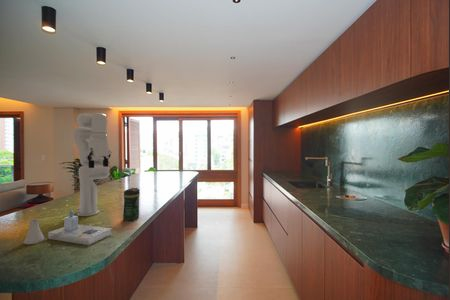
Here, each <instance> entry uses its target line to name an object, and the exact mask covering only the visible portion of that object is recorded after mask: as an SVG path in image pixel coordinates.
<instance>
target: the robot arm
mask: <svg viewBox="0 0 450 300" xmlns="http://www.w3.org/2000/svg"><path fill="white" fill-rule="evenodd" d="M76 123H77V126H78V127H76V128H74V129H73V133H72V135H73V140H74V143H75V145H76V146H77V149H78V156H79V158H78V159H79V162H80V164H81V166H80V167H79V168H78V178H79V205H78V207H76V208H75V209H76V210H77V211H78V212H77V213H76V216H78V217H89V216H91V217H92V216H95V215H97V214H99V213H100V210H99V209H98V185H97V183H95V182H94V180H103V179H107V178H108V177H109V176H110V169H109V166H110V165H109V160H110V158H111V157H112V151H111V150H109V142H108V139H107V137H108V134H107V133H108V128H107V127H108V126H107V125H108V116H107V115H106V114H104V113H101V112H96V113H92V114H91V113H79V114H78V115H77V119H76Z"/></svg>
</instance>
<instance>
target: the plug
mask: <svg viewBox="0 0 450 300" xmlns="http://www.w3.org/2000/svg"><path fill="white" fill-rule="evenodd" d="M68 212H69V213H68V214H69V216H66V217H64V218H63V219H64V221H63V223H64V224H63V227H64V231H73V230H76V229H78V224H79V216H78V215H74V210H69V211H68Z"/></svg>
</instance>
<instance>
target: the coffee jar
mask: <svg viewBox="0 0 450 300" xmlns="http://www.w3.org/2000/svg"><path fill="white" fill-rule="evenodd" d="M138 218H140V189H139V188H138V187H130V188H129V189H128V188H127V189H125V190H124V191H123V213H122V219H123V220H124V221H127V222H128V221H134V220H137V219H138Z"/></svg>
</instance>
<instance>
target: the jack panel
mask: <svg viewBox="0 0 450 300" xmlns="http://www.w3.org/2000/svg"><path fill="white" fill-rule="evenodd" d="M111 235H112V228H109V227H101V226H93V225H86V224H80V223H78V229H76V230H73V231H64V226H63V227H59V228H57V229H54V230H51V231H48V239H49V240H55V241H61V242H67V243H73V244H79V245H85V246H90V245H93V244H95V243H97V242H98V241H100V240H103V239H105V238H107V237H109V236H111Z"/></svg>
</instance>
